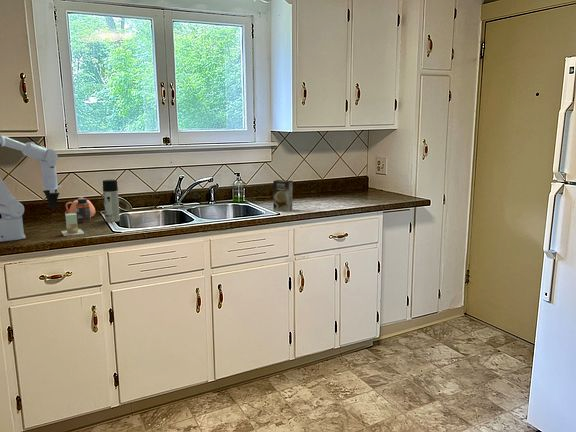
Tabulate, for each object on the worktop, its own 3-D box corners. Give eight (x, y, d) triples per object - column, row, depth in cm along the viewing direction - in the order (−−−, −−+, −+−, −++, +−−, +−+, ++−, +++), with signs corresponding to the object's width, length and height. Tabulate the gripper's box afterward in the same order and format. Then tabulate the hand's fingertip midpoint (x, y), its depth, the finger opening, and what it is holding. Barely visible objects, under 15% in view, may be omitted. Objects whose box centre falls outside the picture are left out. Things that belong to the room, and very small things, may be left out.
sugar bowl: (96, 219, 237) (94, 198, 235) (65, 221, 232) (63, 200, 230) (95, 214, 248) (93, 195, 246) (66, 216, 243) (64, 196, 241)
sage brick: (67, 224, 204) (66, 215, 203) (66, 222, 207) (65, 213, 207) (77, 223, 206) (76, 214, 205) (76, 221, 209) (75, 212, 209)
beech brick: (68, 233, 205) (67, 224, 204) (67, 231, 208) (66, 222, 207) (78, 232, 207) (77, 223, 206) (77, 230, 210) (76, 221, 209)
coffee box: (272, 210, 258) (272, 180, 255) (277, 208, 264) (277, 179, 261) (288, 211, 255) (288, 181, 252) (292, 209, 261) (292, 180, 258)
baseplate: (64, 236, 201) (63, 235, 201) (61, 232, 210) (61, 230, 210) (84, 234, 205) (84, 233, 205) (81, 230, 214) (80, 228, 214)
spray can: (105, 220, 234) (101, 179, 230) (119, 219, 236) (116, 179, 232) (105, 223, 228) (102, 181, 224) (120, 222, 230) (117, 180, 226)
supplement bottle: (92, 220, 234) (90, 197, 232) (88, 223, 228) (86, 199, 226) (80, 220, 234) (78, 197, 232) (75, 223, 228) (73, 199, 226)
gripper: (61, 177, 205) (64, 208, 208) (57, 174, 217) (60, 203, 220) (43, 178, 201) (46, 210, 204) (40, 175, 214) (43, 205, 216)
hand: (52, 207), depth 212 cm, fingers open, 7 cm apart
